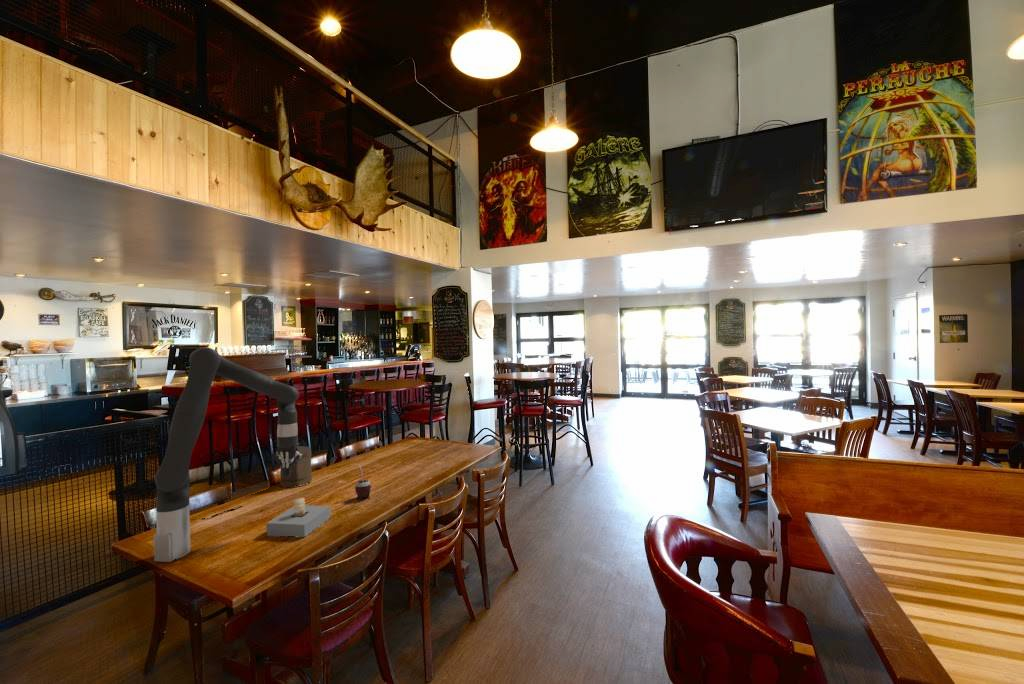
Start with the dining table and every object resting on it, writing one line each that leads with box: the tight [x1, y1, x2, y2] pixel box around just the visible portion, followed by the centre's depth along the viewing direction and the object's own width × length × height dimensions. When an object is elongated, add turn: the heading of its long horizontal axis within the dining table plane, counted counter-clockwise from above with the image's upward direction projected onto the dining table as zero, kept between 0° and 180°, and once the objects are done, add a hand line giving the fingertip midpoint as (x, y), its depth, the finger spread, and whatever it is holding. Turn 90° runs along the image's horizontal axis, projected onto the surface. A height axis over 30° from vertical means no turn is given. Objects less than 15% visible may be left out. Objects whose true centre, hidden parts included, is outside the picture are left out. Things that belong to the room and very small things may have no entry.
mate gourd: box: [354, 464, 372, 501], centre depth 202 cm, size 8×8×15 cm
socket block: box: [266, 504, 331, 538], centre depth 172 cm, size 18×16×5 cm
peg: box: [293, 497, 306, 517], centre depth 172 cm, size 4×4×11 cm
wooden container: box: [279, 442, 313, 488], centre depth 225 cm, size 15×15×22 cm
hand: (287, 476), depth 173 cm, fingers closed
